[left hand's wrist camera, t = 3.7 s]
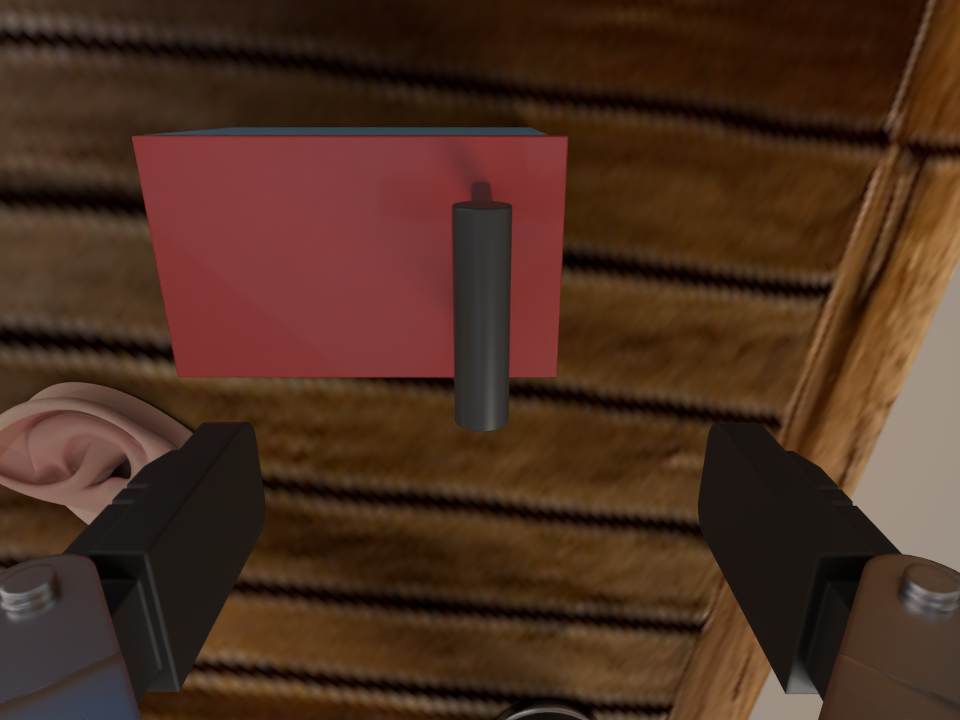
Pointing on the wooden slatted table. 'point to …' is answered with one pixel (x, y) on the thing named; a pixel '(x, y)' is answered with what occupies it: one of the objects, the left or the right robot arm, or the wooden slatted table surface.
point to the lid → (361, 257)
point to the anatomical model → (82, 444)
